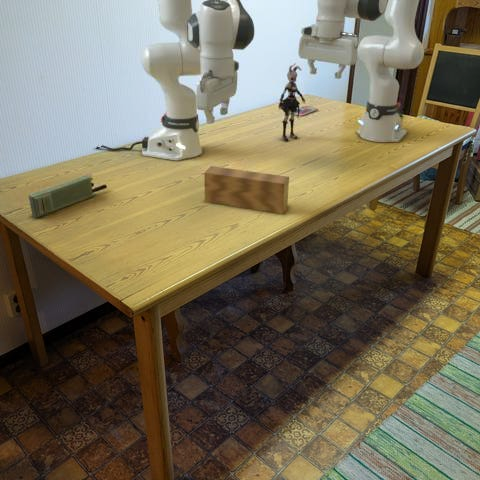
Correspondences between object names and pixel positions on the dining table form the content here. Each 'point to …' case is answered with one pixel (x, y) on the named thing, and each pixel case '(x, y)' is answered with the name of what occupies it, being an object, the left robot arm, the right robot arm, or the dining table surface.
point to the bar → (246, 189)
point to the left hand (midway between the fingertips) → (217, 118)
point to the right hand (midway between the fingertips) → (325, 76)
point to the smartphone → (305, 110)
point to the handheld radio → (62, 195)
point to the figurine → (290, 101)
